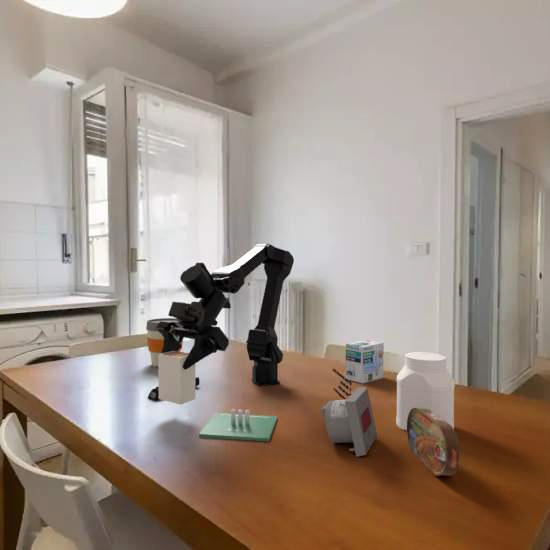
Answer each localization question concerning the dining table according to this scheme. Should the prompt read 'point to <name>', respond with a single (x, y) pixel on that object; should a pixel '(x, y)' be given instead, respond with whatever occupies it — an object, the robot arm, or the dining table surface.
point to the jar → (425, 387)
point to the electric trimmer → (155, 393)
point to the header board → (239, 426)
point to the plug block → (175, 378)
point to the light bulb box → (364, 361)
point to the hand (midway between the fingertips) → (172, 366)
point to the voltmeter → (351, 419)
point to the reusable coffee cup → (157, 338)
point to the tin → (433, 441)
